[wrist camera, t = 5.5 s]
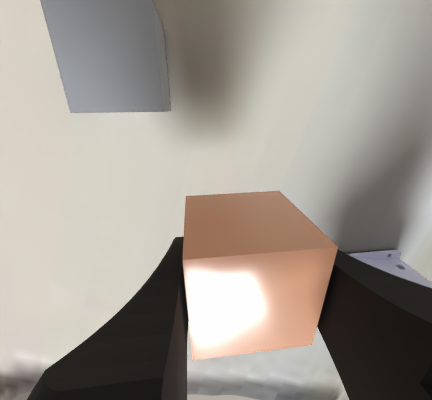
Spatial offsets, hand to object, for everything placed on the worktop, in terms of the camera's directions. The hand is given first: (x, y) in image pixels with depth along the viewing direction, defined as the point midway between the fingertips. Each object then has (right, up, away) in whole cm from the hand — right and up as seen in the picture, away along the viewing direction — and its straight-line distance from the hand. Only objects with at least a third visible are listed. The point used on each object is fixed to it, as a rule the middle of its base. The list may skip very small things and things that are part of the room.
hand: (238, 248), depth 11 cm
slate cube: (-7, +12, +4) cm, 14 cm away
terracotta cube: (0, +1, +1) cm, 1 cm away
